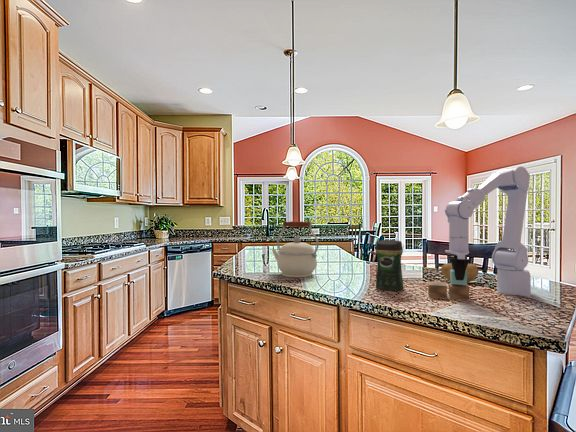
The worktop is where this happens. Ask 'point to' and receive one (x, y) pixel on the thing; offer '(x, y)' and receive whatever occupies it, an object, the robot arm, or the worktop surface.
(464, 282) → the teal block
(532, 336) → the worktop surface
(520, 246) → the robot arm
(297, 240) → the kettle
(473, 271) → the potato
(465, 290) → the walnut block
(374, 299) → the worktop surface
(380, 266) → the coffee jar
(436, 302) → the worktop surface
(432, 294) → the walnut block
